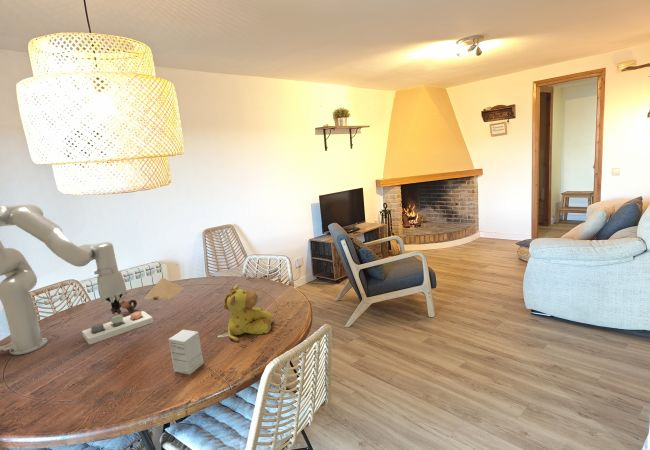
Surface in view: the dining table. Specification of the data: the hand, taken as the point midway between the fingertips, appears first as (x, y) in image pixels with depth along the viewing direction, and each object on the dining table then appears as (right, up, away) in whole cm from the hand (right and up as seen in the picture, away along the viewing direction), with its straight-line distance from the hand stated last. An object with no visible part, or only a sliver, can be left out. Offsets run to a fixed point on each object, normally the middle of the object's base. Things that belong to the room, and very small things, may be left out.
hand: (116, 309), depth 166 cm
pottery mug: (-5, -7, +18) cm, 20 cm away
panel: (0, -9, +2) cm, 9 cm away
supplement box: (+45, -13, -35) cm, 58 cm away
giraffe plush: (+61, -7, -8) cm, 62 cm away
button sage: (0, -7, +1) cm, 7 cm away
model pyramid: (+3, -2, +44) cm, 44 cm away
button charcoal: (-6, -10, -4) cm, 12 cm away
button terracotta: (+6, -7, +7) cm, 11 cm away
